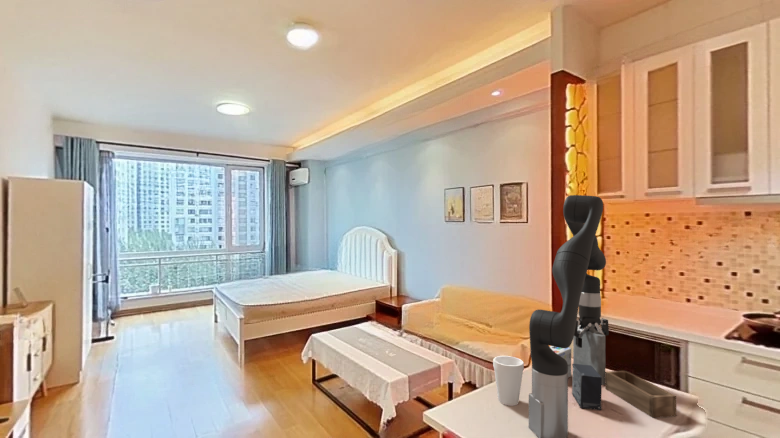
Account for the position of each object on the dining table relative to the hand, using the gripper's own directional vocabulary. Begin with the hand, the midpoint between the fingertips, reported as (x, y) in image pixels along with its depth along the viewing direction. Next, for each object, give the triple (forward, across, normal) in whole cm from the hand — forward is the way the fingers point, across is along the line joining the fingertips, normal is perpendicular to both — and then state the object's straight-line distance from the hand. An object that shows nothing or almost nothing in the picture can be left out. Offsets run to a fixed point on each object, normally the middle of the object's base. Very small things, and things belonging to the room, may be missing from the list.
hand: (589, 346), depth 145 cm
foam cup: (+11, -40, -15) cm, 44 cm away
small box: (+11, -15, -19) cm, 27 cm away
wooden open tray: (+11, +2, -21) cm, 24 cm away
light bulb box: (+11, -13, +1) cm, 17 cm away
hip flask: (+11, 0, 0) cm, 11 cm away
